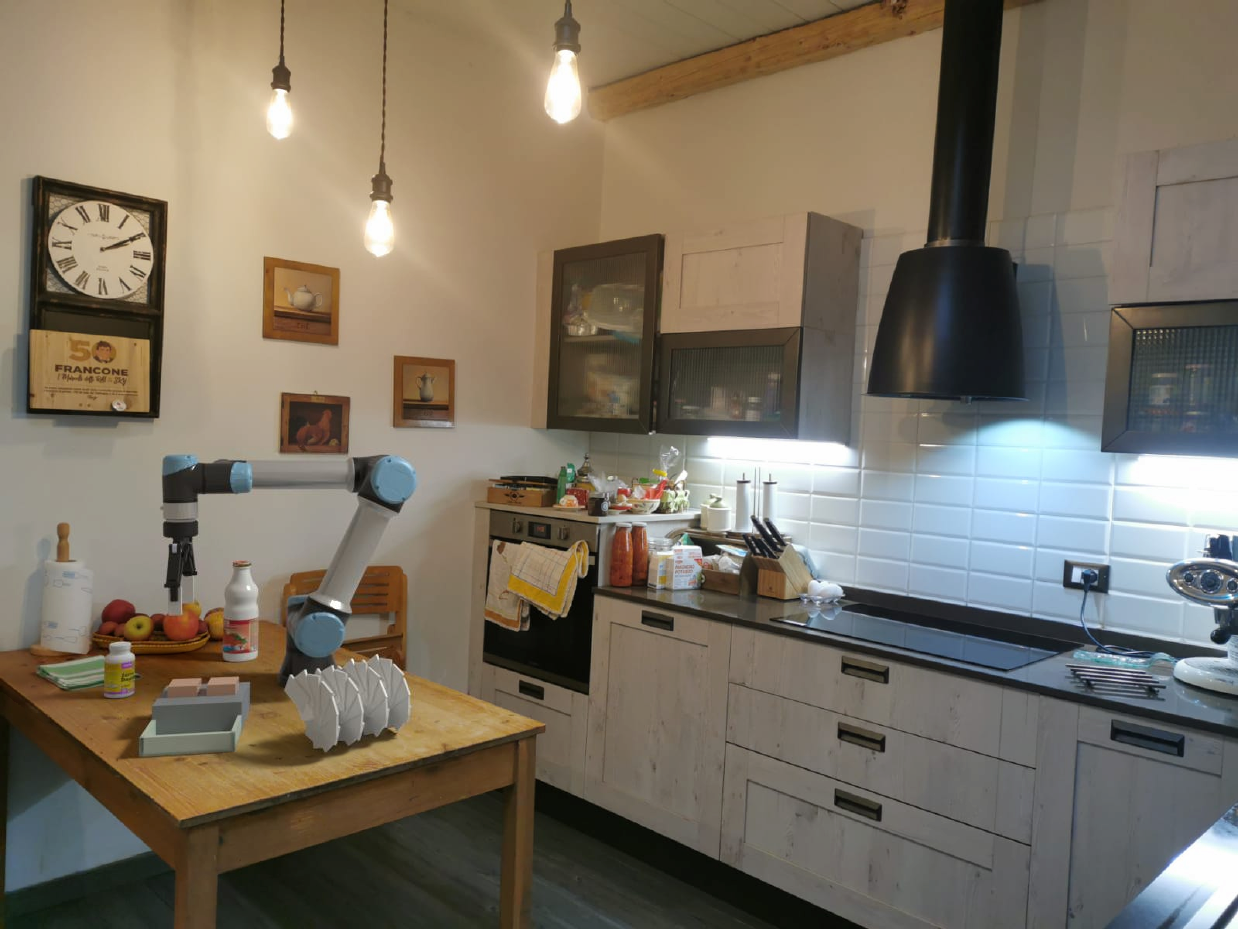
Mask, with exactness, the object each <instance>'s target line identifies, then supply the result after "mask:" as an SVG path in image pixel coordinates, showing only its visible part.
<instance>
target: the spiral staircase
mask: <svg viewBox="0 0 1238 929" xmlns="http://www.w3.org/2000/svg"><path fill="white" fill-rule="evenodd" d="M405 674H406V673H404V672H403V671H402V670H401V668H399V667H398V666H397V665H396V664H395V663H393V659H390V658H389V659H388V658H382V657H381V658H380V657H379V654H378V653H377V654H375V655H373V656H372V657H371V658H369V660H367V661H366V660H365V659H362V660H361V662H355V660H354V658H350V659H349V661H347V662H346V663H345V664H344V666H342V667H341V666H340V665H337V669H336V670H335V669H334V665H331V666H330V667H328V668H326V669H325V670H323V671H320V669H319V668H318V669H317V670H316V672H315V674H314V675H312V674H307V670H303V671H302V672H301V673H299V674H298V675H297V676H296V677H293V675H290V676H289V679H288V681H287V684H286V686H284V689H283V690H284V693H286V695H287V696H288V698H290V700H291V701H292V702H293V703H294V705H295V706H296V707H297V710H298V711H297V713H298V716H299V719H300V721H302V722H304V724H305V730H304V731H305V732H304V735H305V736H306V737H307V738H308V739H309V740H310V741H311V742H312V746H313V747H312V748H313V749H323V751H324V753H328V752H329V751H330V749H331V748H332V747H333V746H337V744H338V742H345V743H346V745H347V747H350V746H351V745H352V744H354V743H355V742H356V741H358V742H359V741H361V737H362V735H364V736H367V735H370V734H374V736H375V737H376V738H377V737H379V735H380V734H381V732H383V730H384V729H390V728H394V729H395V731H396V732H399V731H400V730H401V728H403V726H404V725H405V724H409V721H410V717H411V716H410V715H411V713H412V709H413V706H412V705H411V695H412V694H411V691H410V688H409V686H408V682H407V680H406V677H404V676H405Z"/></svg>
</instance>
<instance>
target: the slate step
mask: <svg viewBox="0 0 1238 929" xmlns="http://www.w3.org/2000/svg"><path fill="white" fill-rule="evenodd" d="M207 684H208V683H202V684H201V690H200V692H199V694H198V696H197V697H178V698H167V695H168V686H169V685H166V686H165V688H164V689H163V690H162V691H161V693H160V694H159V696H158V697H157V699H156V700H155V701H154V703H153V704H152V705H151V720H156V735H166V734H184V733H202V732H220V731H231V730H232V728H233V725H234V723H235V721H236V718H237V716H238V715H242V718H241V733H242V732H243V729H244V727H245V725H246V721H247V719H248V716H249V713H250V706H251V703H250V702H251V699H250V698H251V682H250V681H247V682H246V681H245V682H240V681H239V688H238V690H237V692H236V695H222V696H207Z"/></svg>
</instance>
